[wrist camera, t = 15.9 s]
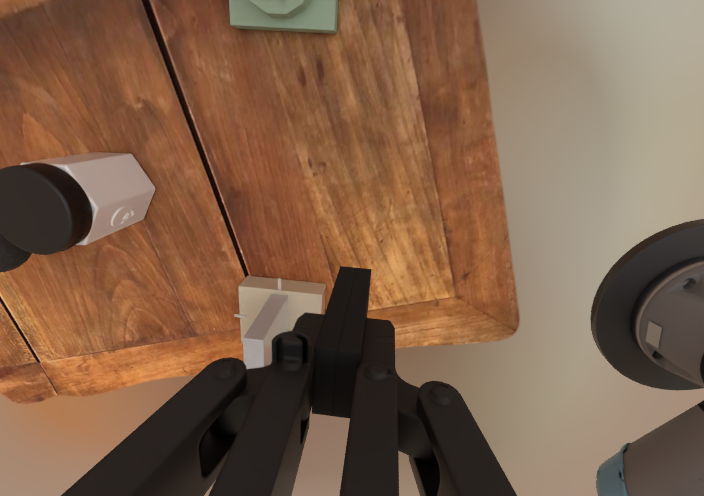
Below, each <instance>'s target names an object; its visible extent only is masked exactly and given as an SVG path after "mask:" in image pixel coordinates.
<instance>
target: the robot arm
mask: <svg viewBox="0 0 704 496" xmlns="http://www.w3.org/2000/svg"><path fill="white" fill-rule="evenodd" d="M370 278H371V269H362V268H352V267H342V266H340V270H339V273H338V276H337V279H336V282H335V285H334V288H333V291H332V294H331V297H330V300H329V303H328V306H327V309H326V312H325V314H316V313H307V312H305V313H304V314H303V315H301V316H300V317H299V318H298V319H297V321H296V323H295V325H294V327H293V330H292V331H287V332H282V333H280V334H278V335H276V336H275V337H274V338H273V339H272V362H271V364H270V365H268V366H265V367H260V368H252V369H246V365H245V363H244V362H243V361H241V360H239V359H236V358H222V359H219V360H216V361H214V362H212V363H211V364H209V365H208V366H207V367H206V368H204V369H203V370H202V371H201V372H200V373H199V374H198V375H197V376H195V377H194V378H193V379H192V380H191V381H190V382H189V383H188V384H186V385H185V386H184V387H183V388H182V389H181V390H180V391H179V392H177V393H176V394H175V395H174V396H173V397H172V398H171V399H170V400H168V401H167V402H166V403H165V404H164V405H163V406H162V407H160V408H159V410H157V411H156V412H155V413H154V414H153V415H151V416H150V417H149V418H148V419H147V420H146V421H145V422H144V423H143V424H141V425H140V426H139V427H138V428H137V429H136V430H135V431H133V432H132V433H131V434H130V435H129V436H128V437H127V438H126V439H124V440H123V441H122V442H121V443H120V444H119V445H118V446H116V447H115V448H114V449H113V450H112V451H111V452H110V453H109V454H108V455H106V456H105V457H104V458H103V459H102V460H101V461H100V462H98V463H97V464H96V465H95V466H94V467H93V468H92V469H91V470H89V471H88V472H87V473H86V474H85V475H84V476H83V477H82V478H80V479H79V480H78V481H77V482H76V483H75V484H74V485H73V486H72V487H71V488H69V489H68V490H67V491H66V492H65V493H63V494H62V495H61V496H204V495H205V493H206V492H207V491H208V489H209V488H210V487H211V485H212V484H213V483H214V481H215V480H216V481H215V483H214V485H213V487H212V489H211V491H210V494H209V496H291V495H292V491H293V487H294V483H295V479H296V475H297V471H298V467H299V463H300V460H301V456H302V451H303V448H304V444H305V440H306V436H307V432H308V429H309V415H310V411H311V407H312V413H314V414H321V415H329V416H337V417H345V418H350V424H349V432H348V439H347V446H346V453H345V460H344V467H343V476H342V482H341V489H340V496H399V479H398V478H399V475H398V474H399V472H398V451H401V452H403V453H405V454H407V455H409V461H410V464H411V467H412V471H413V474H414V477H415V480H416V484H417V487H418V490H419V493H420V496H517V495H516V493H515V491H514V490H513V488H512V486H511V484H510V482H509V481H508V479H507V477H506V475H505V473H504V472H503V470H502V468H501V466H500V464H499V463H498V461H497V459H496V457H495V455H494V454H493V452H492V450H491V449H490V447H489V445H488V443H487V441H486V439H485V438H484V436H483V434H482V432H481V430H480V429H479V427H478V425H477V423H476V421H475V420H474V418H473V416H472V414H471V412H470V411H469V409H468V407H467V405H466V404H465V402H464V400H463V398H462V396H461V395H460V393H459V392H458V391H457V390H456V389H455V388H453V387H452V386H451V385H449V384H446V383H443V382H439V381H430V382H426V383H424V384H423V385H422V386H421V387H420V388H418V387H416V386H413V385H410V384H408V383H406V382H405V381H404V380H402V379H401V378H400V377H399V376H398V374H397V373H396V369H395V328H394V326H393V325H392V323H391V322H390V321H389V320H380V319H370V318H367V311H368V300H369V289H370ZM630 328H631V333H632V336H633V339H634V341H635V343H636V344H637V346H638V347H639V348H640V350H641V351H642V352H643V353H645V354H646V355H647V356H648V357H649V358H650V359H651V360H652V361H653V362H654V363H656V364H657V365H659V366H661V367H662V368H664V369H666V370H668V371H670V372H672V373H674V374H677V375H679V376H681V377H683V378H685V379H687V380H689V381H691V382H694V383H696V384H698V385H700V386H702V387H704V256H701V257H697V258H693V259H689V260H687V261H684V262H681V263H679V264H677V265H675V266H673V267H671V268H669V269H667V270H666V271H664V272H663V273H661V274H660V275H659V276H657V277H656V278H655V279H654V280H652V281H651V282H650V283H649V284H648V285H647V286H646V288H645V289H644V290H643V291H642V293H641V294H640V295H639V297H638V299H637V301H636V303H635V305H634V307H633V310H632V314H631V320H630ZM596 488H597V493H598V496H704V401H702V402H701V403H699V404H697V405H695V406H694V407H692V408H690V409H689V410H687V411H685V412H684V413H682V414H680V415H679V416H677V417H675V418H673V419H672V420H670V421H668V422H667V423H665V424H663V425H662V426H660V427H658V428H656V429H655V430H653V431H651V432H650V433H648V434H646V435H644V436H643V437H641V438H639V439H638V440H636V441H634V442H632V443H627V444H625V445H624V446H623V447H622V448H621V450H620V452H618V453H617V454H615V455H614V456H612V457H611V458H609V459H608V460H606V461H605V462H604V463H603V464H601V466H600V467H599V469H598V471H597V480H596Z"/></svg>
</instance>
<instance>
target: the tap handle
mask: <svg viewBox="0 0 704 496" xmlns="http://www.w3.org/2000/svg"><path fill="white" fill-rule="evenodd" d="M287 331H288V296H287V295H278V294H271V296H270V297H269V299H268V300H267V302H266V303H265V305H264V306H263V308H262V309H261V311H260V313H259V314H258V316H257V317H256V319H255V320H254V322H253V323H252V325H251V326H250V328H249V329H248V331H247V333H246V334H245V336H244V337H243V352H244V363H245V365H246V369H252V368H260V367H265V366H268V365H270V364H271V362H272V339H273V338H274V337H275V336H276V335H278V334H280V333H282V332H287Z"/></svg>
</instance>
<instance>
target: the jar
mask: <svg viewBox="0 0 704 496" xmlns="http://www.w3.org/2000/svg"><path fill="white" fill-rule="evenodd" d="M155 190H156V188H155V186H154V185H153V184H152V182H151V181H150V179H149V178H148V176H147V175H146V173H145V172H144V171H143V169H142V168H141V166H140V165H139V163H138V162H137V161H136V159H135V158H134V156H133V155H132V154H130V153H107V152H92V153H85V154H78V155H71V156H64V157H57V158H50V159H43V160H37V161H30V162H23V163H21V164H20V165H17V166H10V167H6V168H3V169H0V232H1V234H2V235H3V236H4V237H5V238H6V239H7V240H9V241H10V242H11V243H13V244H14V245H15V246H17V247H19V248H21V249H23V250H25V251H27V252H30V253H34V254H40V255H49V254H54V253H57V252H59V251H64V250H66V249H69V248H71V247H73V246H75V245H87V244H89V243H91V242H94V241H96V240H98V239H100V238H103V237H105V236H107V235H109V234H112V233H114V232H116V231H118V230H121V229H123V228H125V227H128V226H130V225H132V224H134V223H137V222H139V221H141V220H143V219H144V217H145V215H146V212H147V210H148V207H149V205H150V202H151V200H152V197H153V195H154V192H155Z"/></svg>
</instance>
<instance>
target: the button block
mask: <svg viewBox="0 0 704 496" xmlns="http://www.w3.org/2000/svg"><path fill="white" fill-rule="evenodd" d="M229 9H230V25H231V26H233V27H235V28H237V29H254V30H273V31H291V32H310V33H329V34H337V18H338V0H229Z"/></svg>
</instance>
